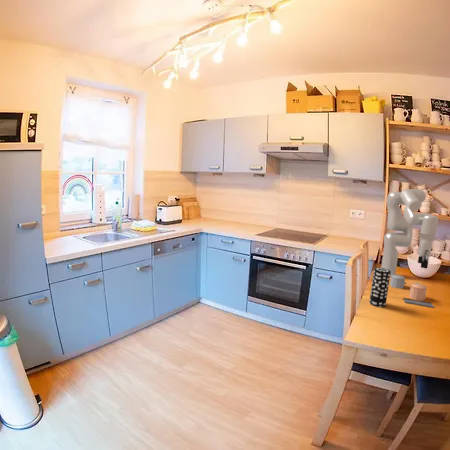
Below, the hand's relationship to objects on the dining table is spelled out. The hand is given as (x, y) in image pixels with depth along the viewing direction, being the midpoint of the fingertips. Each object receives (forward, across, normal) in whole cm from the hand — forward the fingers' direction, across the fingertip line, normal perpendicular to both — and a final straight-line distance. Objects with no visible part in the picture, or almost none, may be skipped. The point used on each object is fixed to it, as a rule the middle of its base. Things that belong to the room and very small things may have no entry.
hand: (422, 265), depth 188 cm
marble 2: (+19, -23, +3) cm, 30 cm away
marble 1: (+20, -22, -5) cm, 30 cm away
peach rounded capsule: (+20, +2, 0) cm, 20 cm away
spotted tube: (+21, +21, -22) cm, 37 cm away
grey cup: (+21, -13, -9) cm, 27 cm away
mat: (+21, +2, 0) cm, 21 cm away
